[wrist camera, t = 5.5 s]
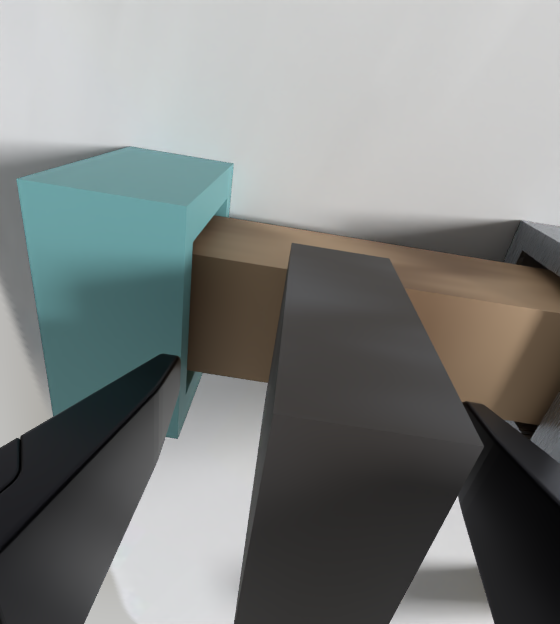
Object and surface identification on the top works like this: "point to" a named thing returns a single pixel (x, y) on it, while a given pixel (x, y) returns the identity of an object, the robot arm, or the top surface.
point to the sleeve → (556, 257)
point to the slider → (361, 400)
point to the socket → (117, 264)
